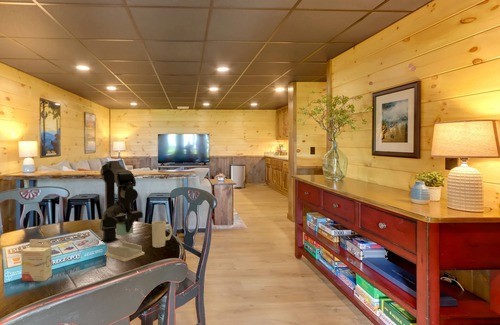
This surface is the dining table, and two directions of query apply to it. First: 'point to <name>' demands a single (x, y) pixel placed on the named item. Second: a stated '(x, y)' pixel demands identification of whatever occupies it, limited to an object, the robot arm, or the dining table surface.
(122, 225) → the block
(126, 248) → the mount board
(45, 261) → the ink cartridge box
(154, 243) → the mug
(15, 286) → the dining table surface
